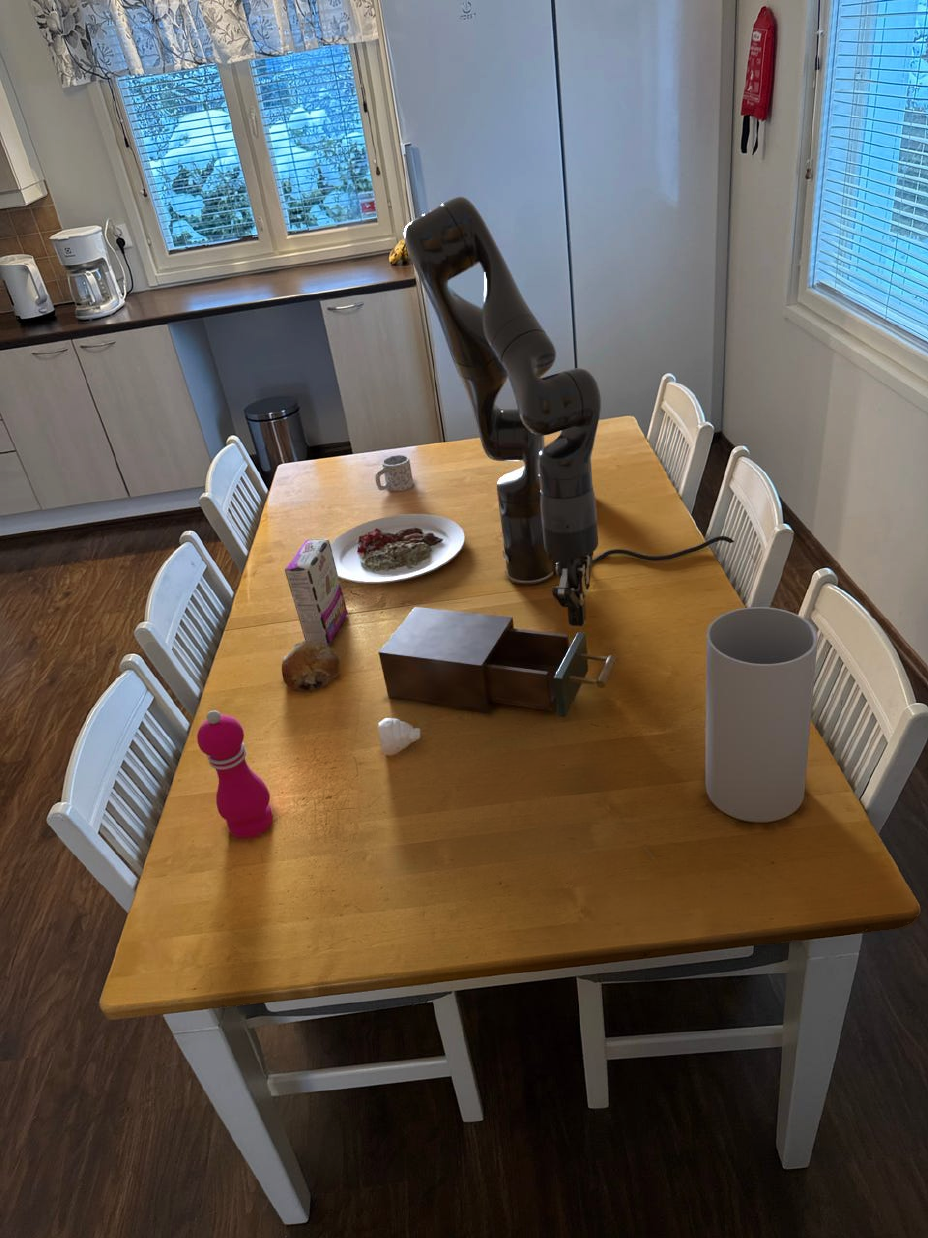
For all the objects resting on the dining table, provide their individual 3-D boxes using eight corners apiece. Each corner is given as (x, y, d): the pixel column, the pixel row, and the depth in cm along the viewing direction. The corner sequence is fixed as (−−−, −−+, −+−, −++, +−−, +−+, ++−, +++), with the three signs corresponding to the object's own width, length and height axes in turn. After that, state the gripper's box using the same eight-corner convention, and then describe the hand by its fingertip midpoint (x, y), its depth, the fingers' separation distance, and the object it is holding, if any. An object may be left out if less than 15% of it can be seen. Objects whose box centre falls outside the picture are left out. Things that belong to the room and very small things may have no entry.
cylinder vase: (698, 816, 118) (698, 659, 105) (713, 754, 128) (715, 603, 115) (799, 833, 114) (813, 671, 100) (807, 767, 123) (821, 611, 110)
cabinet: (518, 663, 153) (512, 617, 148) (488, 714, 142) (481, 665, 138) (423, 651, 160) (414, 606, 155) (388, 698, 149) (378, 652, 145)
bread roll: (350, 684, 161) (350, 639, 159) (321, 696, 151) (321, 648, 150) (301, 679, 164) (300, 635, 163) (269, 690, 154) (269, 644, 153)
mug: (402, 477, 228) (397, 452, 224) (418, 483, 223) (414, 458, 220) (370, 492, 222) (365, 467, 219) (387, 498, 218) (382, 472, 214)
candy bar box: (324, 613, 176) (305, 538, 167) (348, 613, 174) (330, 537, 166) (304, 646, 166) (282, 568, 158) (329, 646, 165) (309, 568, 157)
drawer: (623, 674, 145) (621, 635, 141) (602, 723, 135) (599, 683, 131) (493, 658, 154) (488, 621, 150) (464, 703, 144) (458, 665, 140)
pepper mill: (229, 809, 132) (189, 699, 121) (279, 801, 132) (242, 691, 121) (222, 845, 126) (179, 733, 115) (274, 837, 126) (235, 724, 115)
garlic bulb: (424, 757, 136) (418, 728, 133) (384, 763, 136) (377, 734, 133) (422, 734, 140) (417, 706, 138) (384, 739, 140) (377, 712, 138)
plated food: (437, 593, 176) (434, 578, 174) (301, 585, 186) (297, 571, 185) (484, 523, 200) (482, 509, 198) (361, 519, 210) (358, 506, 208)
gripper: (582, 542, 118) (590, 651, 127) (607, 497, 128) (613, 601, 137) (527, 538, 121) (539, 645, 130) (556, 495, 131) (566, 597, 140)
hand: (577, 623), depth 134 cm, fingers closed
